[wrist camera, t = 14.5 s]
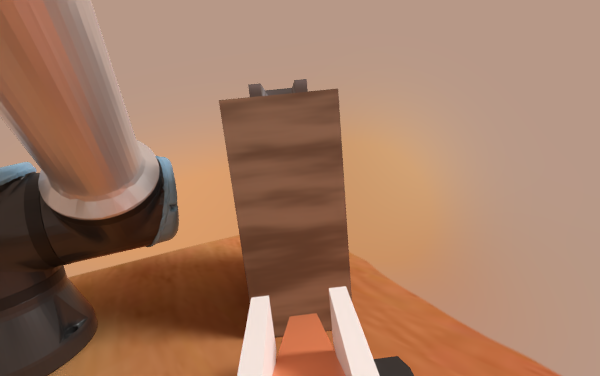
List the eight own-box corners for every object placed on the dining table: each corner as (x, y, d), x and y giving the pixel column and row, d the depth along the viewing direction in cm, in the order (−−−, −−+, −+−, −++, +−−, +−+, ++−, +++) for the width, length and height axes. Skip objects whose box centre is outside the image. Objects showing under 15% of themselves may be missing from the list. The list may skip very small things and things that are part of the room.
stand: (353, 327, 37) (336, 67, 30) (255, 339, 36) (215, 79, 29) (330, 260, 54) (316, 86, 47) (264, 267, 54) (240, 93, 47)
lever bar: (480, 861, 3) (420, 531, 4) (222, 908, 3) (213, 562, 4) (320, 343, 28) (316, 313, 29) (292, 346, 28) (289, 316, 29)
